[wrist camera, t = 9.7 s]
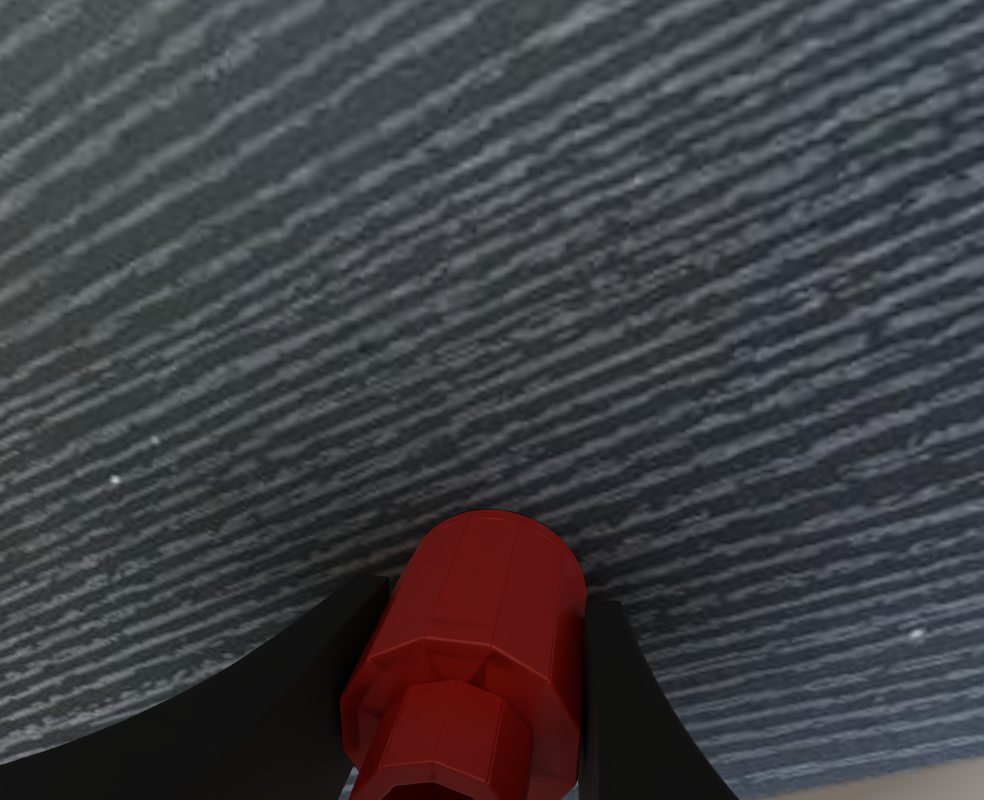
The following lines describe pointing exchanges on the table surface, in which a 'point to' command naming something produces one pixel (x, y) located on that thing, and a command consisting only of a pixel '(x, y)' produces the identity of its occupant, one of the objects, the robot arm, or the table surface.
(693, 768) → the robot arm
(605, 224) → the table surface
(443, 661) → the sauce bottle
